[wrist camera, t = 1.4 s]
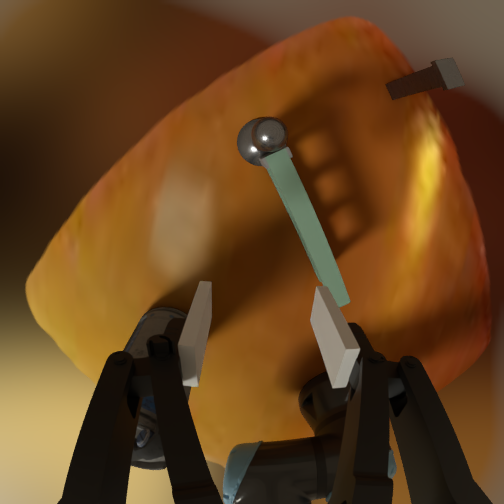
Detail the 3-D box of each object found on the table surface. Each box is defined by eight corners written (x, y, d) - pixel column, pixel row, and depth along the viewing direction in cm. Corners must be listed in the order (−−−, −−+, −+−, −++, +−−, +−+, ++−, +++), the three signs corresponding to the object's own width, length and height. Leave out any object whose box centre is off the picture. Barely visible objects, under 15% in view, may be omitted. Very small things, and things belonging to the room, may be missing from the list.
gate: (258, 158, 32) (261, 159, 23) (277, 149, 31) (288, 146, 23) (314, 276, 37) (331, 311, 29) (331, 268, 37) (352, 300, 28)
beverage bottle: (226, 325, 41) (210, 478, 17) (173, 364, 44) (138, 490, 20) (176, 280, 38) (108, 426, 15) (128, 327, 41) (63, 448, 18)
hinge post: (294, 153, 33) (325, 153, 19) (250, 174, 33) (252, 187, 20) (272, 111, 31) (289, 81, 17) (228, 132, 32) (214, 115, 18)
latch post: (407, 98, 29) (465, 85, 17) (391, 103, 30) (448, 89, 18) (398, 78, 28) (452, 57, 16) (381, 82, 29) (434, 60, 17)
